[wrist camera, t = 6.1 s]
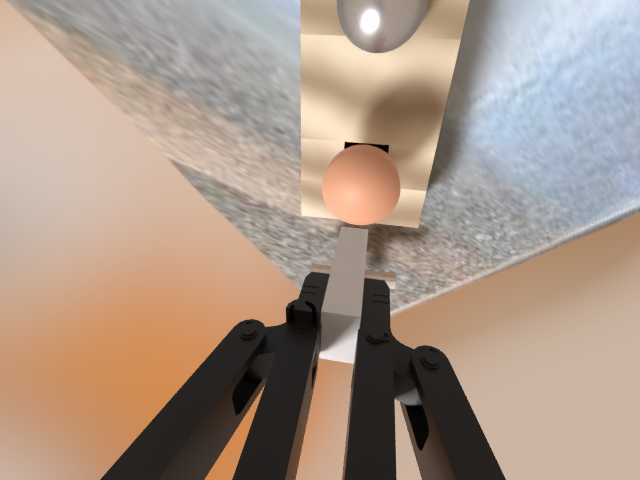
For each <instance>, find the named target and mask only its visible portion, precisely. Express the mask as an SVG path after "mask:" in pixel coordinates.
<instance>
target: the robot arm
mask: <svg viewBox="0 0 640 480" xmlns="http://www.w3.org/2000/svg"><path fill="white" fill-rule="evenodd" d="M367 241H368V229H359V228H350V227H341V229H340V234H339V238H338V242H337V246H336V251H335V255H334V259H333V263H332V268H331V272H330V274H327V273H320V272H311V273H310V274H309V275H308V276H307V277H306V278H305V280H304V283H303V286H302V289H301V293H300V295H299V298H298V299H297V300H294V301H292V302H291V303H289V304H288V306H287V307H286V323H284V324H281V325H278V326H271V327H265V326H264V324H263V323H262V322H260V321H258V320H253V319H251V320H245V321H242V322H240V323H238V324H237V325H236V326H235V327H234V328H233V329H232V330H231V331H230V332H229V333H228V335H227V336H226V337H225V338H224V339H223V340H222V341H221V343H220V344H219V345H218V346H217V347H216V348H215V350H214V351H213V352H212V353H211V354H210V355H209V356H208V358H207V359H206V360H205V361H204V362H203V363H202V364H201V365H200V366H199V368H198V369H197V370H196V371H195V372H194V373H193V375H192V376H191V377H190V378H189V379H188V380H187V381H186V382H185V384H184V385H183V386H182V387H181V388H180V389H179V390H178V392H177V393H176V394H175V395H174V396H173V397H172V399H171V400H170V401H169V402H168V403H167V404H166V405H165V407H164V408H163V409H162V410H161V411H160V412H159V413H158V414H157V416H156V417H155V418H154V419H153V420H152V421H151V422H150V424H149V425H148V426H147V427H146V428H145V429H144V430H143V432H142V433H141V434H140V435H139V436H138V438H136V440H135V441H134V442H133V443H132V444H131V445H130V446H129V448H128V449H127V450H126V451H125V452H124V453H123V454H122V456H121V457H120V458H119V459H118V460H117V461H116V462H115V464H114V465H113V466H112V467H111V468H110V469H109V470H108V472H107V473H106V474H105V475H104V476H103V477H102V479H101V480H204V479H205V477H206V476H207V475H208V473H209V471H210V470H211V468H212V467H213V465H214V464H215V462H216V460H217V459H218V457H219V456H220V454H221V453H222V451H223V449H224V448H225V446H226V445H227V443H228V442H229V440H230V438H231V437H232V435H233V434H234V432H235V430H236V429H237V427H238V426H239V424H240V423H241V421H242V419H243V418H244V416H245V415H246V413H247V411H248V410H249V408H250V407H251V405H252V404H253V402H254V401H255V399H256V397H257V396H258V394H259V393H260V391H261V390H262V388H263V387H264V385H265V387H264V390H263V393H262V396H261V399H260V401H259V404H258V407H257V410H256V413H255V416H254V419H253V422H252V425H251V427H250V430H249V433H248V436H247V439H246V442H245V445H244V448H243V451H242V453H241V456H240V460H239V462H238V465H237V468H236V471H235V474H234V477H233V479H232V480H295V479H296V474H297V469H298V464H299V459H300V453H301V449H302V444H303V439H304V434H305V429H306V424H307V419H308V414H309V409H310V404H311V399H312V394H313V389H314V385H315V380H316V374H317V368H318V367H317V366H318V358H322V359H329V360H334V361H340V362H346V363H353V364H354V369H353V376H352V383H351V395H350V406H349V416H348V426H347V436H346V447H345V456H344V467H343V476H342V480H396V450H395V449H396V447H395V410H394V409H395V407H394V399H396V400H398V401H400V404H401V408H402V411H403V415H404V418H405V422H406V425H407V429H408V432H409V436H410V439H411V442H412V446H413V449H414V453H415V456H416V460H417V463H418V466H419V470H420V473H421V477H422V480H506V479H505V477H504V475H503V473H502V471H501V469H500V466H499V464H498V462H497V460H496V458H495V456H494V454H493V452H492V450H491V448H490V446H489V443H488V442H487V439H486V437H485V435H484V433H483V431H482V429H481V427H480V425H479V423H478V421H477V418H476V416H475V414H474V412H473V410H472V408H471V406H470V404H469V402H468V400H467V397H466V396H465V393H464V391H463V389H462V387H461V385H460V383H459V381H458V379H457V377H456V375H455V372H454V370H453V368H452V366H451V364H450V362H449V360H448V358H447V357H446V356H445V354H444V353H443V352H441V351H440V350H439V349H437V348H434V347H432V346H426V345H424V346H419V347H417V348H416V349H412V348H410V347H407V346H405V345H403V344H401V343H400V342H399V341H397V340H396V339H395V337H394V336H393V335H392V333H391V329H390V298H389V297H390V289H389V286H388V285H387V283H386V281H385V280H378V279H371V278H364V276H365V265H366V253H367ZM265 383H266V384H265Z"/></svg>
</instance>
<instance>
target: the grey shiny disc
mask: <svg viewBox="0 0 640 480" xmlns="http://www.w3.org/2000/svg"><path fill="white" fill-rule="evenodd" d="M427 5H428V0H337V13H338V18H339V22H340V25H341V27H342V30H343V32H344V33H345V35H346V36H347V38H348V39H349V40H350V41H351V42H352V43H353V44H354V45H355V46H356V47H358V48H359V49H361V50H364V51H366V52H370V53H385V52H389V51H392V50H394V49H396V48H398V47H400V46H401V45H403V44H404V43H405V42H407V41H408V40H409V39H410V38H411V37H412V36H413V34H414V33H415V32H416V30H417V29H418V27H419V26H420V24H421V22H422V20H423V18H424V15H425V12H426V9H427Z"/></svg>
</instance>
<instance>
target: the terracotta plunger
mask: <svg viewBox="0 0 640 480" xmlns="http://www.w3.org/2000/svg"><path fill="white" fill-rule="evenodd" d="M400 191H401V188H400V177H399V171H398V168H397V165H396V163H395V162H394V160H393V159H392V157H391V156H390V155H389V154H387V153H386V152H385V151H383V150H382V149H380V148H378V147H375V146H372V145H368V144H363V145H354V146H350V147H348V148H346V149H344V150H342V151H341V152H339V153H338V154H337V155H336V156H335V157H334V158H333V160H332V161H331V163H330V164H329V166H328V169H327V171H326V173H325V176H324V178H323V182H322V194H323V198H324V201H325V203H326V205H327V207H328V209H329V210H330V211H331V212H332V213H333V214H334V215H335V216H336V217H338V218H339V219H341V220H343V221H345V222H347V223H350V224H355V225H368V224H372V223H376V222H378V221H380V220H382V219H384V218H385V217H387V216H388V215H389V214H390V213H391V212H392V211H393V209H394V208H395V207H396V205H397V203H398V200H399V197H400Z"/></svg>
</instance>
